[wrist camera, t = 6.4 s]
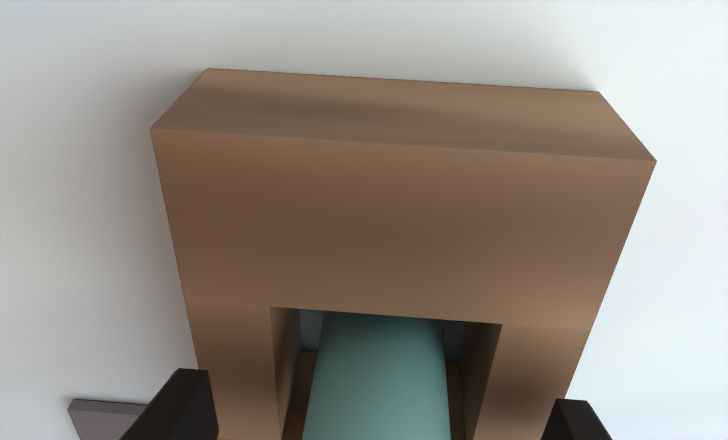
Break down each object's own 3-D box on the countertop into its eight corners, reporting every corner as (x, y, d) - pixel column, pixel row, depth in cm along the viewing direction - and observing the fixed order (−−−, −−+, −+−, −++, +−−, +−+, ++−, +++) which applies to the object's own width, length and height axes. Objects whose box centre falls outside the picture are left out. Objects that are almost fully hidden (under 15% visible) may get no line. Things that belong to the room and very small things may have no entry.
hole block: (494, 443, 17) (509, 540, 15) (253, 423, 18) (228, 515, 15) (599, 92, 11) (657, 161, 8) (207, 68, 11) (149, 128, 9)
